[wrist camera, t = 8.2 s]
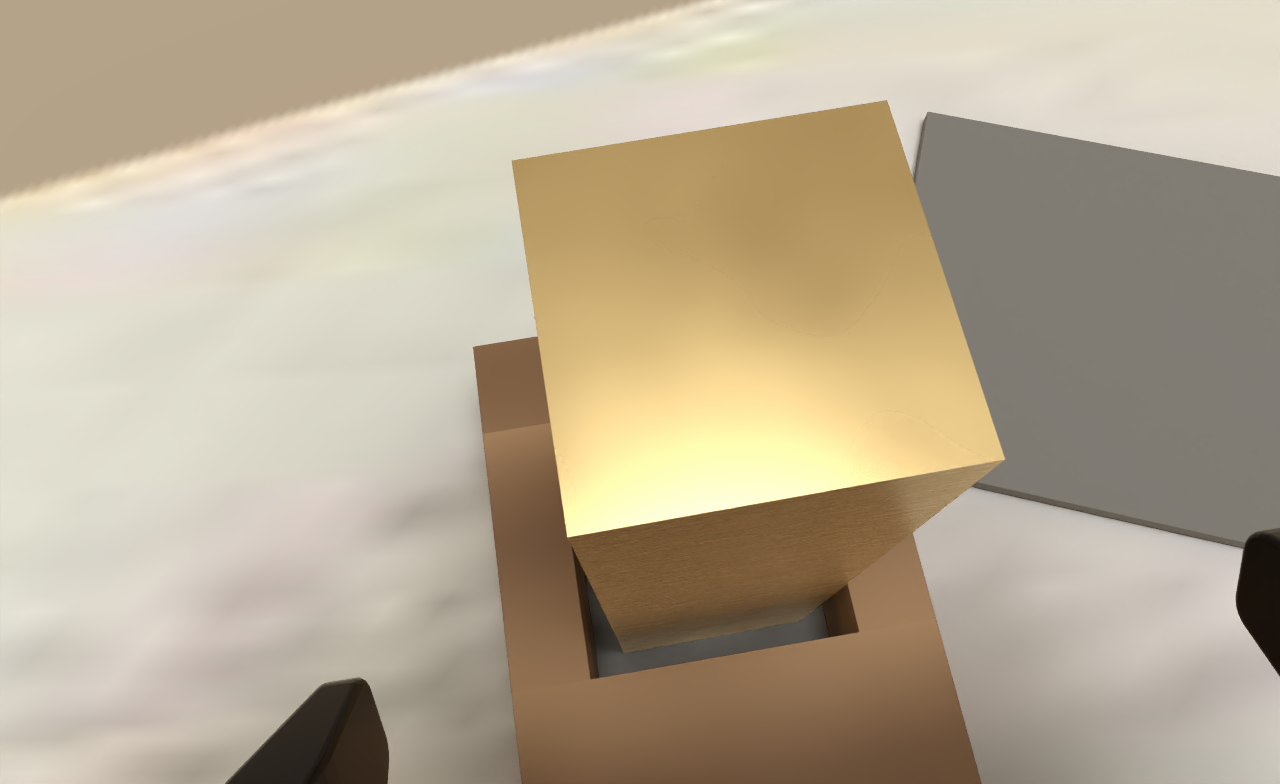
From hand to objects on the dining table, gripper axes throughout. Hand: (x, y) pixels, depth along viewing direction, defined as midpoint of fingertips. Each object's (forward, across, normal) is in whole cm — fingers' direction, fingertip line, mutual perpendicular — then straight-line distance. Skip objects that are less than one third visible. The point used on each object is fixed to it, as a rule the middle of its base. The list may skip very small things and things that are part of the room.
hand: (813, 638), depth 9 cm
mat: (+13, -11, +3) cm, 17 cm away
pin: (+10, 0, +6) cm, 12 cm away
